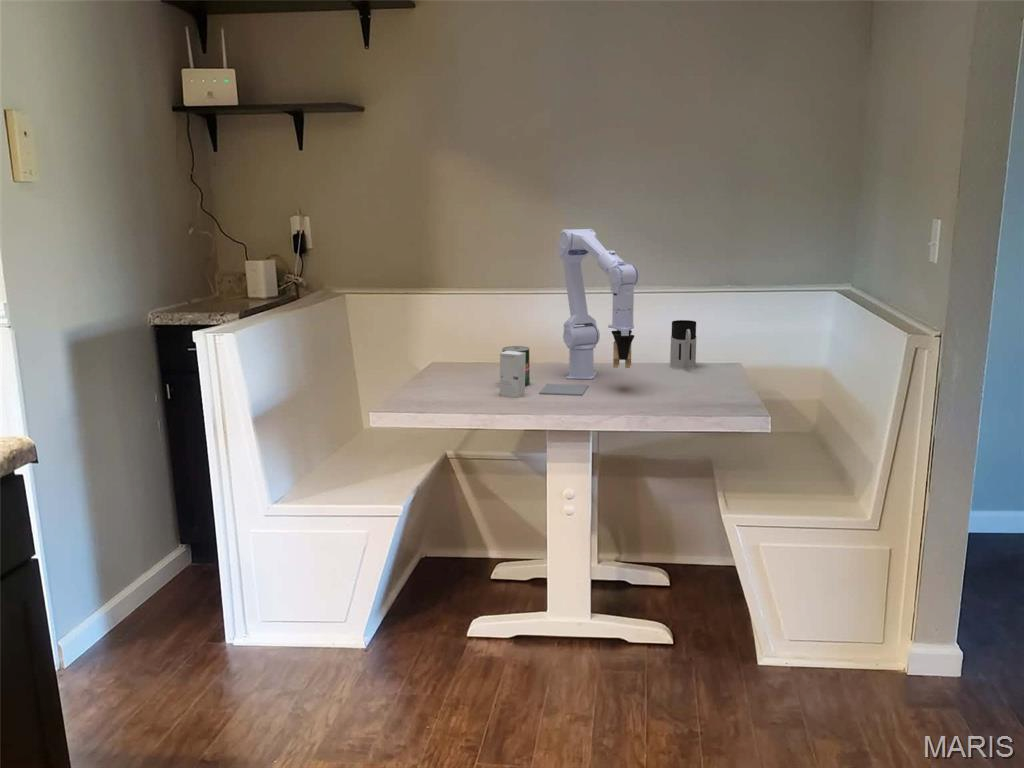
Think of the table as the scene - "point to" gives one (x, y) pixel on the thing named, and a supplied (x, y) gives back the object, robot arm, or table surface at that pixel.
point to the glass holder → (683, 345)
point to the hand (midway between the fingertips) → (622, 357)
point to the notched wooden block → (616, 357)
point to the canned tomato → (526, 350)
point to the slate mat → (564, 389)
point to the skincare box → (512, 373)
